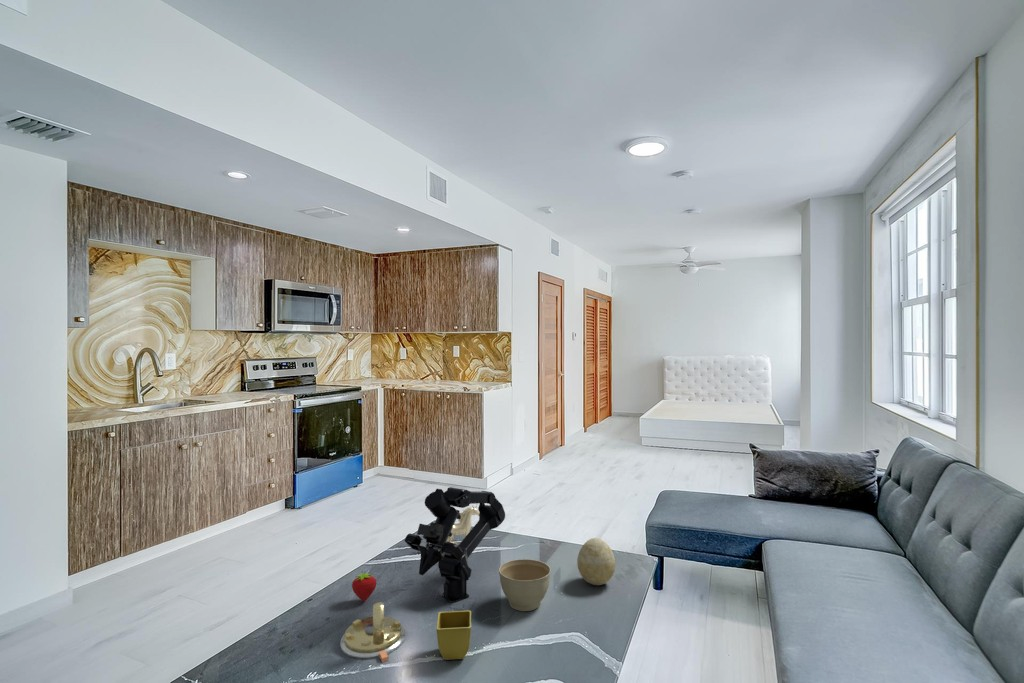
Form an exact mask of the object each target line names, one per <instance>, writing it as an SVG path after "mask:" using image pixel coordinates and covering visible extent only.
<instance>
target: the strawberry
mask: <svg viewBox="0 0 1024 683" xmlns="http://www.w3.org/2000/svg"><path fill="white" fill-rule="evenodd" d="M355 577H356V578H355V579H354V580H353V581H352V582H351V589H352V591H353V594H355V595H356V597H357V598H358V599H359V600H361V601H362V602H367V600H368V599H369V597H370V596H371V595H372V594H373V593H374V591H375V590H376V587H377V584H378V583H377V579H376V578H375V577H374V576H373V574H370V573H369V572H368V573H364V571H362V572H361V574H359V575H355Z"/></svg>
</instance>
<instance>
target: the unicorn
mask: <svg viewBox="0 0 1024 683" xmlns="http://www.w3.org/2000/svg"><path fill="white" fill-rule="evenodd" d="M477 505H478V504H476V505H475V507H474V505H472V507H466V508H465V509H462V512H460V515H461V519H457V522H458V523H454V525H453V528H452V530H451V533H452V536H451V537H449V536H448V539H447V541H446V542H450V543H455V544H457V545H459V544H458V542H456V541H453V540H454V535H456V536H460V535H464V538H465V537H466V536H467V534H468V533H469V532H470V531H471V529H472V516H476V515H477V516H478V517H479V513H480V512H479V510H477Z"/></svg>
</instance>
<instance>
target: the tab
mask: <svg viewBox="0 0 1024 683" xmlns="http://www.w3.org/2000/svg"><path fill="white" fill-rule="evenodd" d="M378 658H379V659H380V661H381V663H384V662H388V661H389V655H388V654H387V653H386V651H382V652H379V657H378Z"/></svg>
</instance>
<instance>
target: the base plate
mask: <svg viewBox="0 0 1024 683" xmlns="http://www.w3.org/2000/svg"><path fill="white" fill-rule="evenodd" d="M365 633H366V634H373V623H370V624H368V625H367V626H366V627H365ZM405 639H406V631H405V629H404V627H403V625H401V637H400V639H399V640H398V641H397V642H396V643H395V644H394V645H392V646H391V647H389V648H387V649H384V650H382V651H386V653H387V655H388V654H391V653H393V652H394V651H396V650H398V649H399V648H400V647H401V646H402V645H403V643H404V641H405ZM339 644H340V645H339V646H340V650H341V652H342V653H343V654H344V655H345V656H347V657H350V658H353V659H358V660H369V659H370V660H371V659H376V658H379V652H382V651H378V652H373V653H358V652H354V651H351V650H349V649H348V648H347V647H346V646H345V643H344V634H343V635H342V636H341V639H340V642H339Z"/></svg>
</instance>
